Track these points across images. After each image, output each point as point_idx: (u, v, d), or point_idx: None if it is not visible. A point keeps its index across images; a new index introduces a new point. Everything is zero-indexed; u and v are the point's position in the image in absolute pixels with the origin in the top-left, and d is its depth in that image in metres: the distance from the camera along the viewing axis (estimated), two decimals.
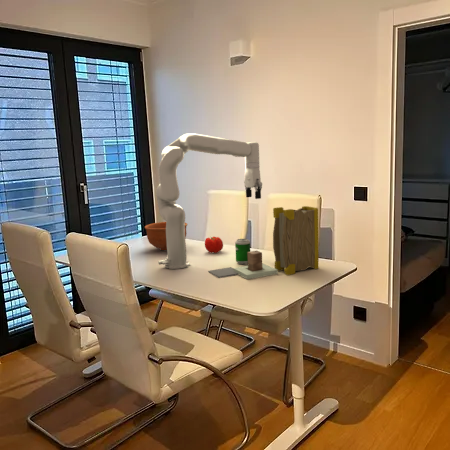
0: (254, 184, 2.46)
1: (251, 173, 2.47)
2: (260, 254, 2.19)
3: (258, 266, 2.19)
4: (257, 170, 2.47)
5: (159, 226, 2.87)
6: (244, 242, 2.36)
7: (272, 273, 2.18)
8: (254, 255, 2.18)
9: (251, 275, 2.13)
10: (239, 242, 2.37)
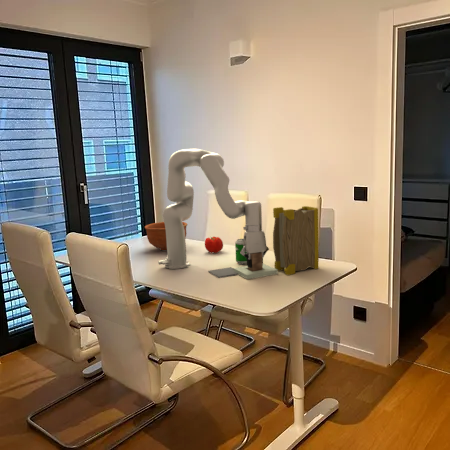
0: None
1: (262, 235, 2.18)
2: (260, 254, 2.19)
3: (258, 266, 2.19)
4: None
5: (159, 226, 2.87)
6: None
7: (272, 273, 2.18)
8: (254, 255, 2.18)
9: (251, 275, 2.13)
10: (239, 242, 2.37)
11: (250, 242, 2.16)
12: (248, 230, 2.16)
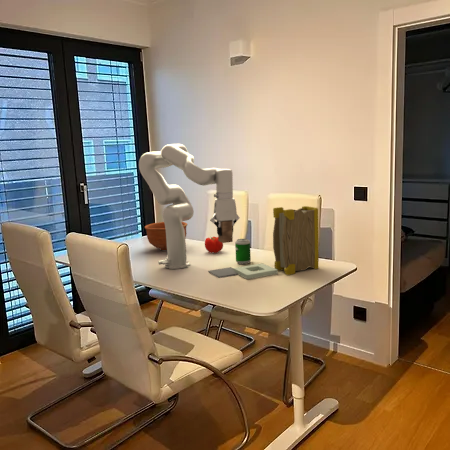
0: None
1: (233, 203, 2.18)
2: (230, 222, 2.18)
3: (228, 235, 2.19)
4: None
5: (159, 226, 2.87)
6: (244, 242, 2.36)
7: (272, 273, 2.18)
8: (224, 223, 2.17)
9: (251, 275, 2.13)
10: (239, 242, 2.37)
11: (220, 210, 2.15)
12: (218, 197, 2.15)
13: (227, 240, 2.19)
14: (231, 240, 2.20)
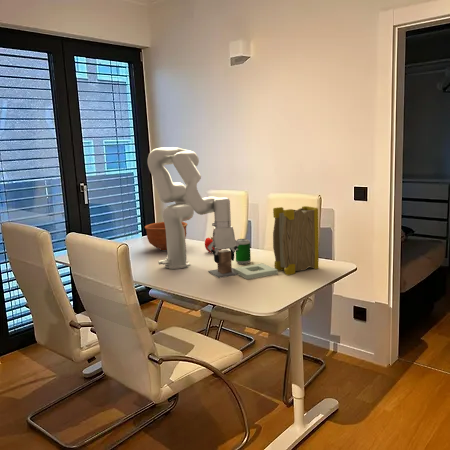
0: (235, 243, 2.22)
1: (231, 232, 2.20)
2: (229, 253, 2.21)
3: (227, 265, 2.22)
4: None
5: (159, 226, 2.87)
6: (244, 242, 2.36)
7: (272, 273, 2.18)
8: (223, 254, 2.20)
9: (251, 275, 2.13)
10: (239, 242, 2.37)
11: (219, 238, 2.17)
12: (217, 226, 2.18)
13: (226, 271, 2.22)
14: (230, 270, 2.23)
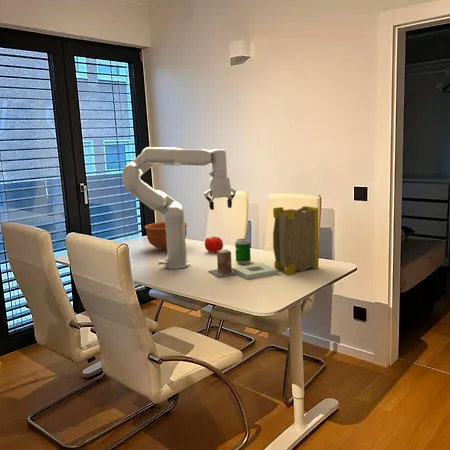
0: (230, 192, 2.36)
1: (227, 181, 2.34)
2: (229, 253, 2.21)
3: (227, 265, 2.22)
4: None
5: (159, 226, 2.87)
6: (244, 242, 2.36)
7: (272, 273, 2.18)
8: (223, 254, 2.20)
9: (251, 275, 2.13)
10: (239, 242, 2.37)
11: (215, 187, 2.32)
12: (213, 176, 2.32)
13: (226, 271, 2.22)
14: (230, 270, 2.23)
